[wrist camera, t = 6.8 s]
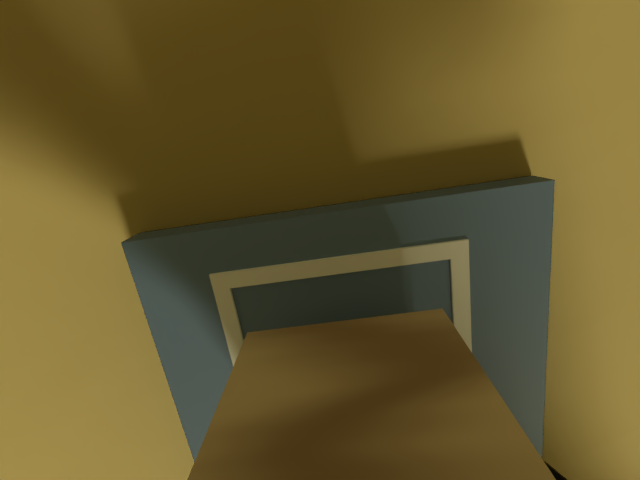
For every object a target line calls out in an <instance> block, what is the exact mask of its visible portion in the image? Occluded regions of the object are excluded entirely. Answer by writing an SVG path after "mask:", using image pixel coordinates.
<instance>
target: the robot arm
mask: <svg viewBox="0 0 640 480" xmlns="http://www.w3.org/2000/svg"><path fill="white" fill-rule="evenodd" d="M543 461H544V460H543ZM544 462H545V461H544ZM545 464H546V465H547V467H548V468H549V470H550V471H551V473H552V474H553V476H554V478H555V479H556V480H567V479H566V478H565V477H563V476H562V475H561V474H560V473H558V472H557V471H556V470H555V469H553V468H552V467H551V466H550V465H549V464H547V463H546V462H545Z"/></svg>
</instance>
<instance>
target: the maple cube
mask: <svg viewBox="0 0 640 480" xmlns="http://www.w3.org/2000/svg"><path fill="white" fill-rule="evenodd" d="M188 480H556V479H555V478H554V476H553V474H552V473H551V471H550V470H549V468H548V467H547V465H546V464H545V462H544V461H543V459H542V458H541V456H540V455H539V453H538V452H537V450H536V449H535V447H534V446H533V444H532V443H531V441H530V440H529V438H528V437H527V435H526V434H525V432H524V431H523V429H522V428H521V426H520V425H519V423H518V422H517V420H516V419H515V417H514V416H513V414H512V413H511V411H510V410H509V408H508V407H507V405H506V404H505V402H504V400H503V399H502V397H501V396H500V394H499V393H498V391H497V390H496V388H495V387H494V385H493V384H492V382H491V381H490V379H489V378H488V376H487V375H486V373H485V372H484V370H483V369H482V367H481V366H480V364H479V363H478V361H477V360H476V358H475V357H474V355H473V354H472V352H471V351H470V349H469V348H468V346H467V345H466V343H465V342H464V340H463V339H462V337H461V336H460V334H459V333H458V331H457V330H456V328H455V327H454V325H453V323H452V322H451V320H450V319H449V317H448V316H447V314H446V313H445V311H444V310H443V308H442V309H434V310H426V311H418V312H409V313H401V314H393V315H385V316H377V317H369V318H361V319H353V320H344V321H336V322H328V323H320V324H312V325H304V326H296V327H288V328H280V329H271V330H263V331H255V332H247V334H246V337H245V339H244V342H243V344H242V347H241V349H240V352H239V354H238V356H237V359H236V361H235V364H234V366H233V369H232V371H231V374H230V376H229V379H228V381H227V384H226V386H225V389H224V391H223V393H222V396H221V398H220V401H219V403H218V406H217V408H216V411H215V413H214V416H213V418H212V421H211V423H210V425H209V428H208V430H207V433H206V435H205V438H204V440H203V443H202V445H201V448H200V450H199V453H198V455H197V458H196V460H195V462H194V465H193V467H192V470H191V472H190V475H189V477H188Z"/></svg>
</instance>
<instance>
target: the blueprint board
mask: <svg viewBox="0 0 640 480" xmlns="http://www.w3.org/2000/svg"><path fill="white" fill-rule="evenodd" d="M554 181H555V180H552V179H547V178H542V177H537V176H527V177H520V178H513V179H506V180H500V181H493V182H486V183H479V184H472V185H465V186H458V187H452V188H445V189H438V190H431V191H424V192H417V193H410V194H404V195H397V196H390V197H383V198H376V199H369V200H362V201H355V202H349V203H342V204H335V205H328V206H321V207H314V208H307V209H301V210H294V211H287V212H280V213H273V214H266V215H259V216H253V217H246V218H239V219H232V220H225V221H218V222H211V223H205V224H198V225H191V226H184V227H177V228H170V229H163V230H156V231H150V232H143V233H138V234H137V235H135V236H133V237H131V238H129V239H127V240H125V241H123V242H121V244H122V247H123V250H124V253H125V256H126V259H127V262H128V265H129V268H130V271H131V274H132V277H133V279H134V282H135V285H136V288H137V291H138V294H139V297H140V300H141V303H142V306H143V309H144V312H145V315H146V318H147V321H148V324H149V327H150V330H151V333H152V336H153V339H154V342H155V345H156V348H157V351H158V354H159V357H160V360H161V363H162V366H163V369H164V372H165V375H166V378H167V381H168V384H169V387H170V390H171V393H172V396H173V399H174V402H175V405H176V408H177V411H178V414H179V417H180V420H181V423H182V426H183V429H184V432H185V435H186V438H187V441H188V444H189V447H190V450H191V453H192V456H193V459H194V462H195V460H196V458H197V455H198V453H199V450H200V448H201V445H202V443H203V440H204V438H205V435H206V433H207V430H208V428H209V425H210V423H211V421H212V418H213V416H214V413H215V411H216V408H217V406H218V403H219V401H220V398H221V396H222V393H223V391H224V389H225V386H226V384H227V381H228V379H229V376H230V374H231V371H232V369H233V366H234V364H235V361H236V359H237V356H238V354H239V352H240V349H241V347H242V344H243V342H244V339H245V337H246V334H247V332H255V331H263V330H271V329H280V328H288V327H296V326H304V325H312V324H320V323H328V322H336V321H344V320H353V319H361V318H369V317H377V316H385V315H393V314H401V313H409V312H418V311H426V310H434V309H442V308H443V310H444V311H445V313H446V314H447V316H448V317H449V319H450V320H451V322H452V323H453V325H454V327H455V328H456V330H457V331H458V333H459V334H460V336H461V337H462V339H463V340H464V342H465V343H466V345H467V346H468V348H469V349H470V351H471V352H472V354H473V355H474V357H475V358H476V360H477V361H478V363H479V364H480V366H481V367H482V369H483V370H484V372H485V373H486V375H487V376H488V378H489V379H490V381H491V382H492V384H493V385H494V387H495V388H496V390H497V391H498V393H499V394H500V396H501V397H502V399H503V400H504V402H505V404H506V405H507V407H508V408H509V410H510V411H511V413H512V414H513V416H514V417H515V419H516V420H517V422H518V423H519V425H520V426H521V428H522V429H523V431H524V432H525V434H526V435H527V437H528V438H529V440H530V441H531V443H532V444H533V446H534V447H535V449H536V450H537V452H538V453H539V455H540V456H541V458H542V449H543V427H544V404H545V382H546V360H547V337H548V315H549V293H550V270H551V248H552V226H553V203H554Z"/></svg>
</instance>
